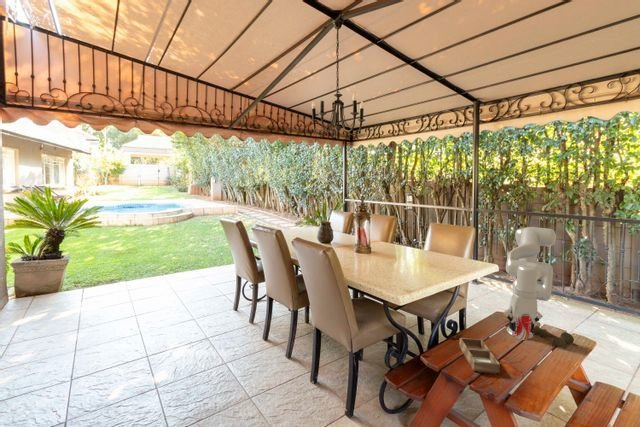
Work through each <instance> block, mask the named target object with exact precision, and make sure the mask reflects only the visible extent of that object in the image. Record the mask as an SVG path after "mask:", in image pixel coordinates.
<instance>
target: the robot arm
mask: <svg viewBox="0 0 640 427" xmlns="http://www.w3.org/2000/svg"><path fill="white" fill-rule="evenodd" d="M556 239H557V236H556V232H555V230H554V229H552V228H546V227H537V226H535V227H534V226H527V227H523V228H518V229H516V230H515V241H516V245H517V246H516V247H514V248H513V249H511V250H510V252H509V253H508V254H507V258H506V263H505V271H506V273H507V274H508V275H510V276H514V277H516V279H515V280H513V282H512V295H511V298H510V301H509V302H510V303H509V306H508V309H506V310H504V311H503V315H504V316H505V317H506V319H507V320H509V323H508V326H507V327H506V332H507V333H508V334H509V335H511V336H513V335H512V331H515V323H514V322H515V320H516V318H519V317H520V316H521V314H523V315H530V317H531V318H532V324H531V333H530V338H529V339H528V340H531V339H533V338H534V328H535V325H536V324H537V323H538V322H539V321H540V320H541V319H543V317H544V316H543V314H541V312H539V311H538V301H542V302H543V301H544V302H549V300H551V296H552V287H553V279H554V278H553V277H554V269H553V266H552V265H551V264H550V263H547V262H543V261H538V255H539V254H540V252H541V247H548V248H549V247H552V246H554V245H555V244H556ZM538 280H540V281H541V282H540V281H538ZM509 314H510V315H509ZM513 337H514V336H513Z"/></svg>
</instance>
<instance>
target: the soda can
mask: <svg viewBox="0 0 640 427" xmlns="http://www.w3.org/2000/svg"><path fill="white" fill-rule="evenodd" d="M514 323H515V331H512V335H513V337H514V338H515V339H518V340H520V341H521V340H522V341H527V340H530V339H529V338H530V333H531V324H532V318H531V317H530V315H523V314H521V316H520V317H519V318H516V320H515V322H514ZM512 335H511V336H512Z"/></svg>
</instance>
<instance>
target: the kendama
mask: <svg viewBox="0 0 640 427" xmlns="http://www.w3.org/2000/svg"><path fill="white" fill-rule="evenodd" d="M533 335H539V336H541V337H542V338H544V337H546V338H549V339H550V338H551V339H552V340H553V345H555V346H556V347H557V348H560V349H565V348H566V347H567V344H568V345H573V346H575V347H578V346H579V345H578V344H576V343H574V341H575V338H574V336H573V335H572V334H571V333H569V332H566V331H565V332H564V331H563V332H561V334H560V337H559V336H557V335H555V334H553V333H551V332H549V331H548V330H547V329H545V328H544V329H543V328H542V327H540V326H539V325H534V330H533Z"/></svg>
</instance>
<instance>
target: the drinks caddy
mask: <svg viewBox="0 0 640 427" xmlns="http://www.w3.org/2000/svg"><path fill="white" fill-rule="evenodd" d="M458 341H459V342H458V346H459V348H460V350H461V352H462V354H463V355H464V357H465V359H466V361H467V362H468V364H469V366H470V367H471V369H472V371H473V372H474V371H478V372H477V373H487V374H496V373H499V374H500V373H501V364H500V362H499V360H497V358H496V356H495V355H494V354H493V353H492V352H491V350H490V349H489V348H488V346H487V344H486V343H485V342H484V340H483V339H481V338H467V337H459V338H458Z"/></svg>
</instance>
